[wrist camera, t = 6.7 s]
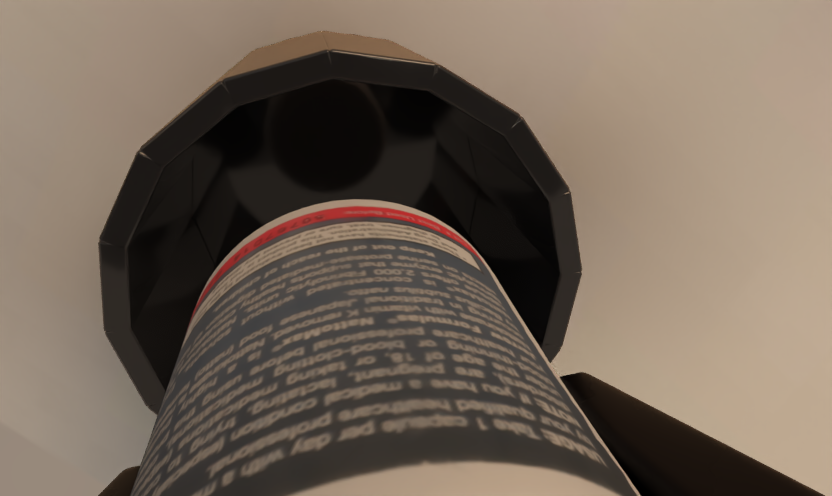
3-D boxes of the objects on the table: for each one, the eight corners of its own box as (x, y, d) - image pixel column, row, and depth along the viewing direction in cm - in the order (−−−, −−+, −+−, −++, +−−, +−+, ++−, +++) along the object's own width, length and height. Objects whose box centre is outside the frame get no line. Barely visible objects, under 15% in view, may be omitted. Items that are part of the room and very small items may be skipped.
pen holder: (321, 375, 20) (327, 545, 14) (105, 174, 17) (-20, 283, 10) (540, 211, 19) (652, 315, 13) (362, -43, 16) (400, -73, 9)
